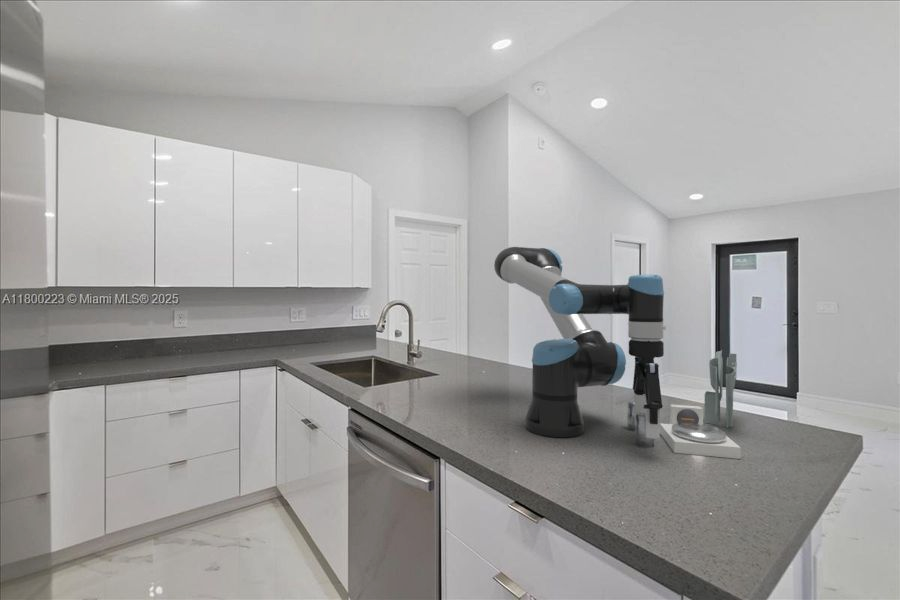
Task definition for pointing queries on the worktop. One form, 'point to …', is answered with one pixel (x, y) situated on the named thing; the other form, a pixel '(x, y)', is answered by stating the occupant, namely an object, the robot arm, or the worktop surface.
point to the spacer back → (630, 415)
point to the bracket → (715, 397)
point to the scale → (694, 447)
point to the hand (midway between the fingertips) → (646, 428)
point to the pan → (699, 433)
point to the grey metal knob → (642, 431)
